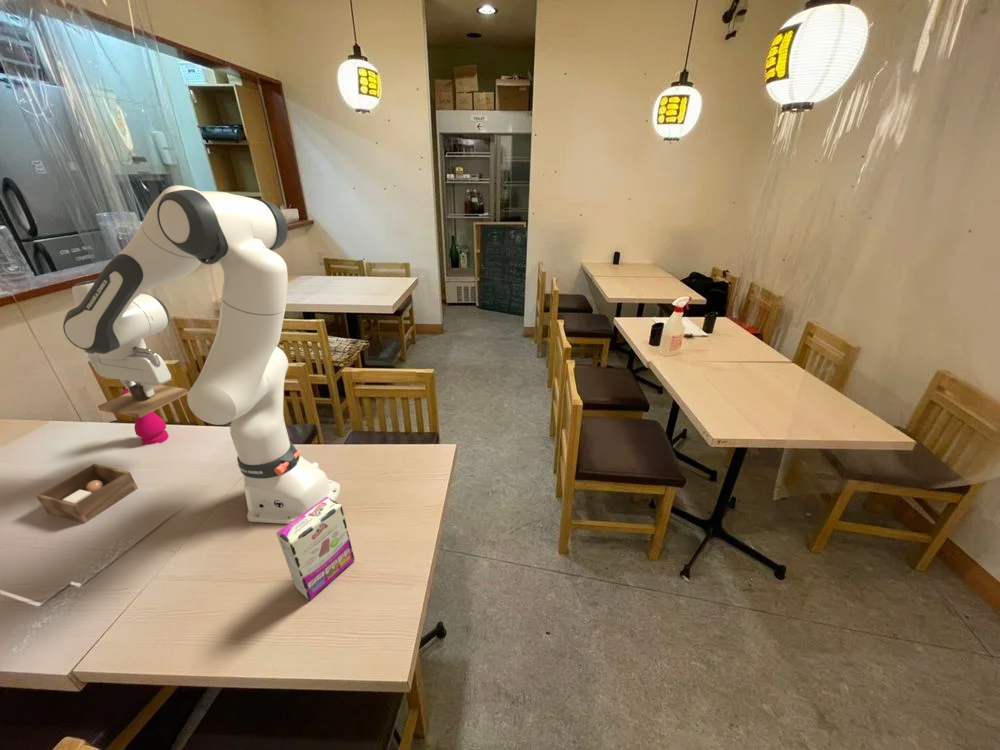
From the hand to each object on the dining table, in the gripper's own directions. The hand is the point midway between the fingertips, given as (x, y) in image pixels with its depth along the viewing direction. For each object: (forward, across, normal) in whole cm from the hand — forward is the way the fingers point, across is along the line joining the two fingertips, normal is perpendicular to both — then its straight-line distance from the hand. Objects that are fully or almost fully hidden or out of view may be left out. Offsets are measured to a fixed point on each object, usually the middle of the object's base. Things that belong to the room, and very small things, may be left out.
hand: (142, 394), depth 104 cm
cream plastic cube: (+22, +4, +19) cm, 29 cm away
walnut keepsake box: (+22, +4, +17) cm, 28 cm away
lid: (+2, 0, 0) cm, 2 cm away
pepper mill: (+23, +15, -7) cm, 28 cm away
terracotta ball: (+22, +7, +14) cm, 27 cm away
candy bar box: (+23, -64, +20) cm, 71 cm away
